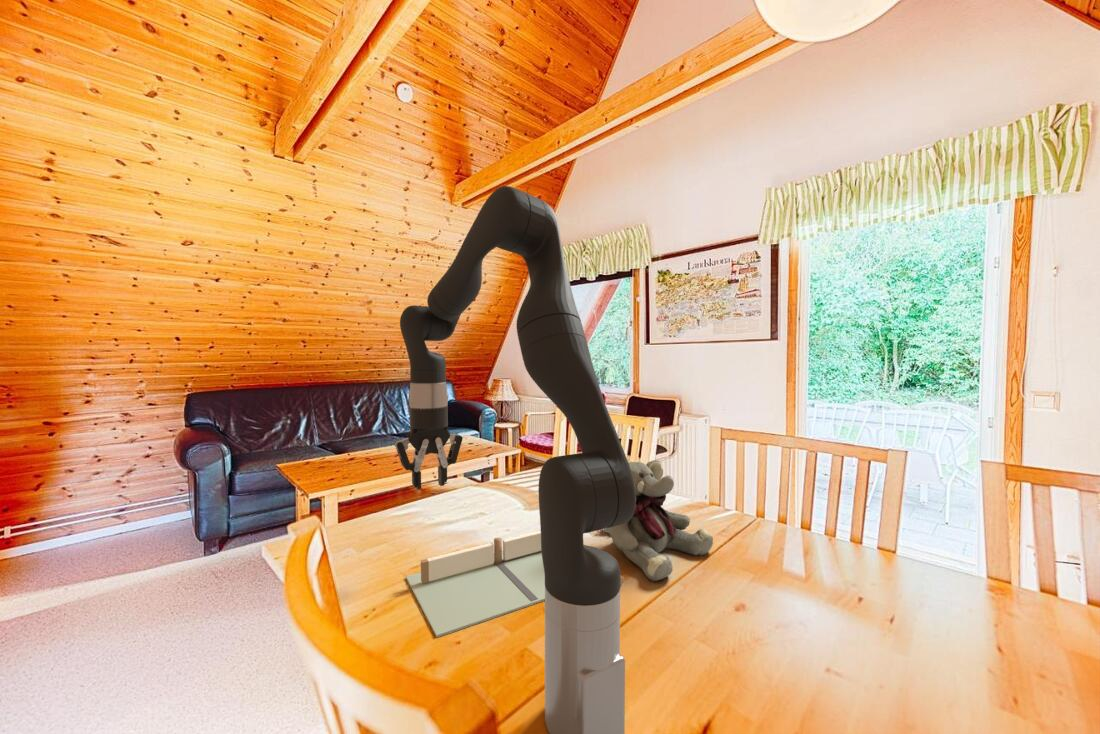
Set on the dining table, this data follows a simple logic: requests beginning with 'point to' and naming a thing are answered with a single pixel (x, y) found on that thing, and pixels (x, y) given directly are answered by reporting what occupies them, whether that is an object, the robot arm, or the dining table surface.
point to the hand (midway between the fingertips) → (430, 486)
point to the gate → (456, 562)
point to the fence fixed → (516, 546)
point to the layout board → (480, 593)
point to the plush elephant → (655, 525)
